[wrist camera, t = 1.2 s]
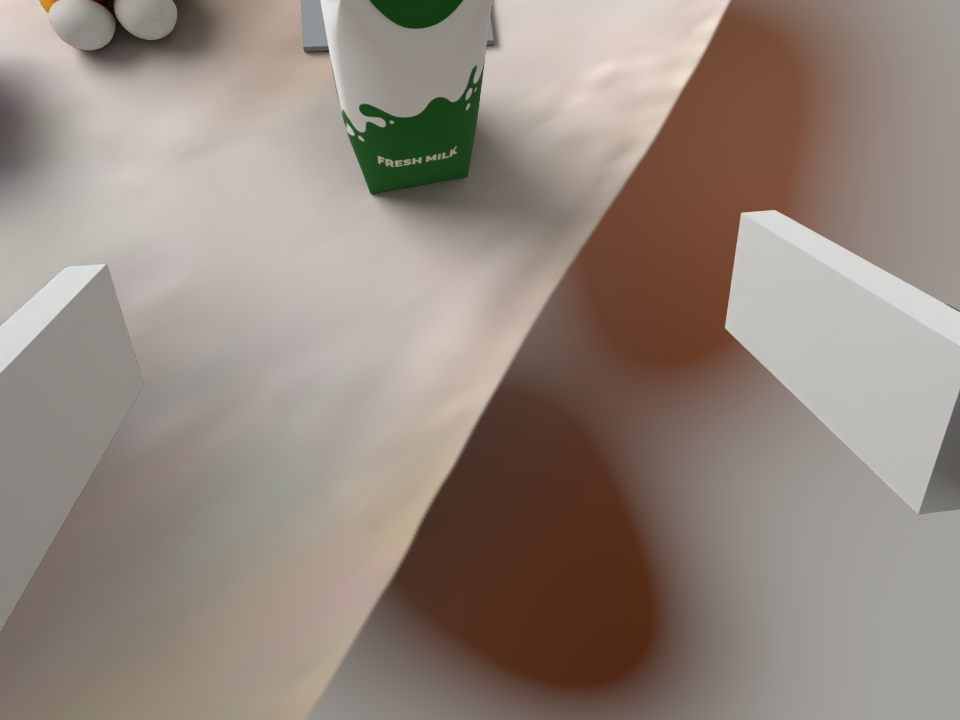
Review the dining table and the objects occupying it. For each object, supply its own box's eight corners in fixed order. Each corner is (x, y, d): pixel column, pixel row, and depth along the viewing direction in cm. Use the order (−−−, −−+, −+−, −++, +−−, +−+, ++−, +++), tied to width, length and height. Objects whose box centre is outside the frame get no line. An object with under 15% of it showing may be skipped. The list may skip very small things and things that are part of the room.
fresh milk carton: (360, 208, 48) (320, -27, 29) (335, 97, 50) (283, -188, 31) (483, 186, 49) (523, -54, 30) (453, 79, 52) (472, -207, 32)
